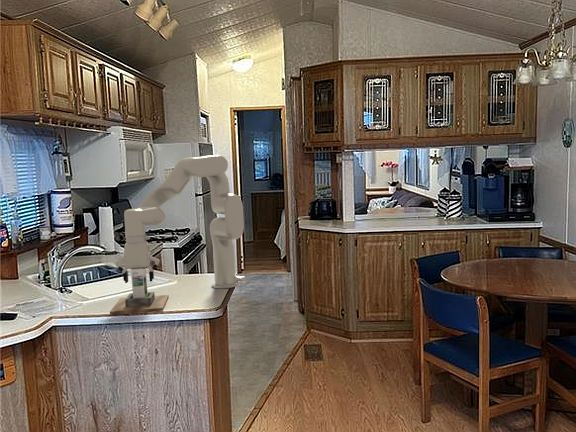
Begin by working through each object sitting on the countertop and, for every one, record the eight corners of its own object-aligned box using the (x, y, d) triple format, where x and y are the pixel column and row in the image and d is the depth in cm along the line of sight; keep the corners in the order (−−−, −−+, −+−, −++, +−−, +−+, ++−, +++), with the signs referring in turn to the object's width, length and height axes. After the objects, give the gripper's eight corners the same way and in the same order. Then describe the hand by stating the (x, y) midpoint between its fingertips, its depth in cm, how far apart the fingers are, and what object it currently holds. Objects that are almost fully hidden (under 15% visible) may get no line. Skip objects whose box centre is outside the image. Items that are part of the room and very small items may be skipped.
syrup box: (133, 305, 208) (130, 269, 207) (134, 301, 214) (131, 266, 213) (148, 303, 210) (145, 268, 208) (148, 300, 216) (145, 265, 214)
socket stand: (168, 297, 223) (168, 288, 223) (162, 310, 203) (162, 300, 203) (120, 301, 221) (119, 291, 220) (110, 314, 201) (109, 304, 201)
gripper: (159, 237, 214) (162, 278, 216) (115, 239, 212) (119, 281, 214) (156, 239, 206) (159, 282, 208) (111, 242, 204) (115, 285, 206)
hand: (139, 281), depth 211 cm, fingers open, 9 cm apart
